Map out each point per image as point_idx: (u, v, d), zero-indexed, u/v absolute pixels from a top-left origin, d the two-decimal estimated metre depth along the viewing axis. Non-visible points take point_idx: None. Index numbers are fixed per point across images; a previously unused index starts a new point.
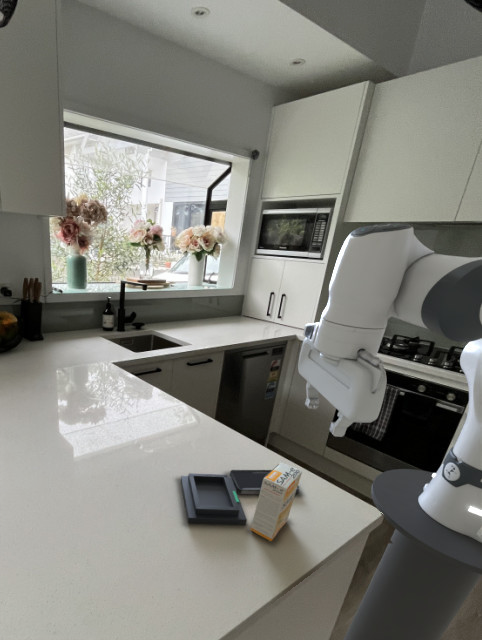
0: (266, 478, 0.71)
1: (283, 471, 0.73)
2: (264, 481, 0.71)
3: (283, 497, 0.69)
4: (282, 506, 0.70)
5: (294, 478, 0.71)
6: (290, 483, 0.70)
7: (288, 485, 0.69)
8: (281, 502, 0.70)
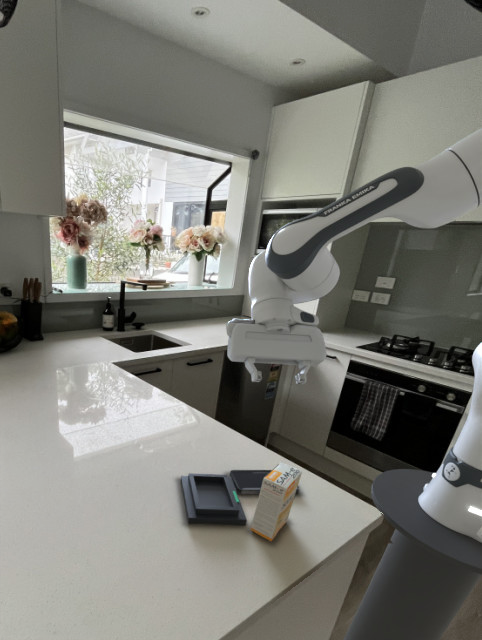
0: (266, 478, 0.71)
1: (283, 471, 0.73)
2: (264, 481, 0.71)
3: (283, 497, 0.69)
4: (282, 506, 0.70)
5: (294, 478, 0.71)
6: (290, 483, 0.70)
7: (288, 485, 0.69)
8: (281, 502, 0.70)
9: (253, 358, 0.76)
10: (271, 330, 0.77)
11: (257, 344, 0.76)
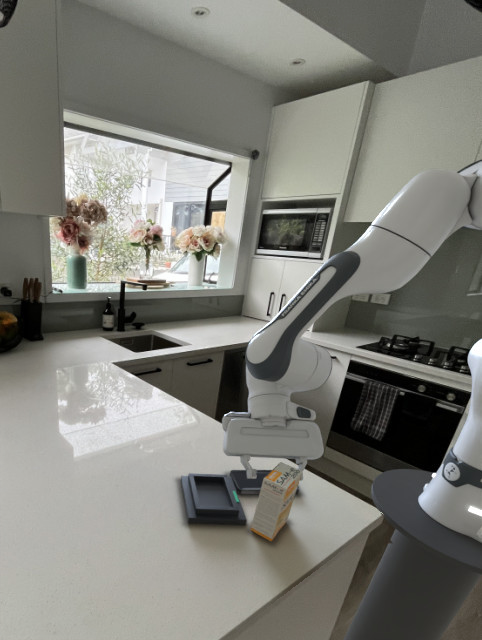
0: (266, 478, 0.71)
1: (283, 471, 0.73)
2: (264, 481, 0.71)
3: (283, 497, 0.69)
4: (282, 506, 0.70)
5: (294, 478, 0.71)
6: (290, 483, 0.70)
7: (288, 485, 0.69)
8: (281, 502, 0.70)
9: (248, 455, 0.76)
10: (267, 426, 0.77)
11: (252, 441, 0.76)
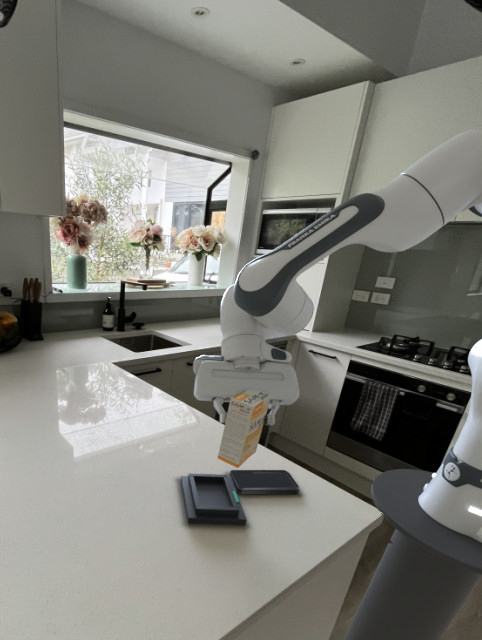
0: (233, 398, 0.67)
1: (251, 394, 0.70)
2: (231, 401, 0.67)
3: (250, 417, 0.66)
4: (249, 427, 0.67)
5: (262, 400, 0.68)
6: (258, 403, 0.67)
7: (255, 404, 0.66)
8: (248, 423, 0.66)
9: (221, 398, 0.72)
10: (240, 368, 0.73)
11: (224, 383, 0.72)
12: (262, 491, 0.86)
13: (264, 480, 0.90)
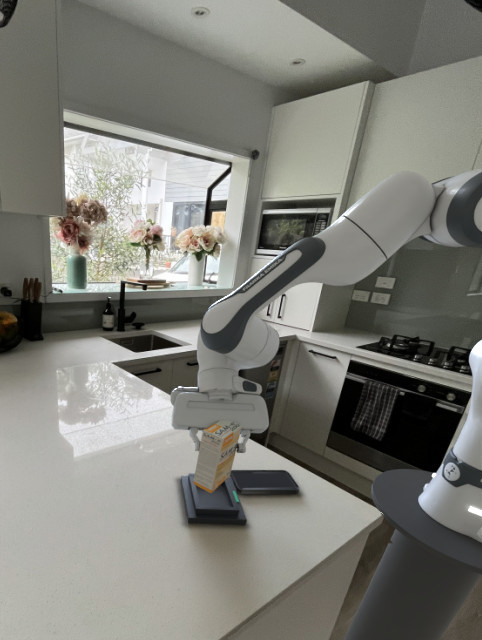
0: (205, 430, 0.73)
1: (223, 425, 0.75)
2: (203, 433, 0.73)
3: (220, 448, 0.71)
4: (220, 457, 0.72)
5: (233, 431, 0.74)
6: (228, 434, 0.72)
7: (225, 436, 0.71)
8: (219, 453, 0.72)
9: (196, 428, 0.77)
10: (213, 399, 0.78)
11: (199, 414, 0.78)
12: (262, 491, 0.86)
13: (264, 480, 0.90)
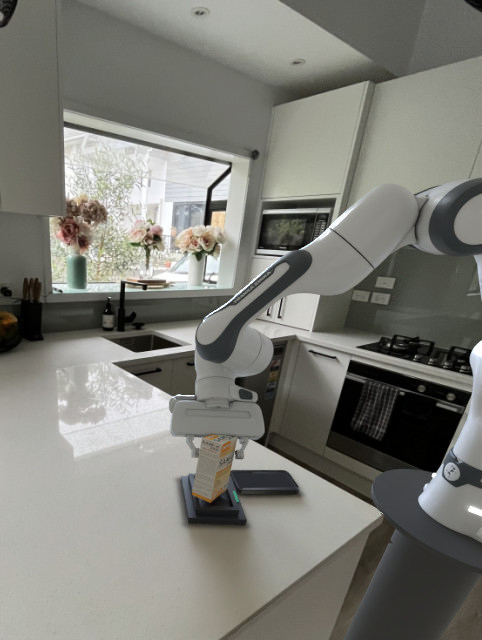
0: (204, 438, 0.76)
1: (220, 435, 0.79)
2: (202, 440, 0.76)
3: (219, 453, 0.74)
4: (219, 464, 0.75)
5: (230, 439, 0.77)
6: (226, 442, 0.76)
7: (223, 442, 0.75)
8: (218, 459, 0.75)
9: (192, 435, 0.80)
10: (210, 407, 0.81)
11: (196, 421, 0.80)
12: (262, 491, 0.86)
13: (264, 480, 0.90)
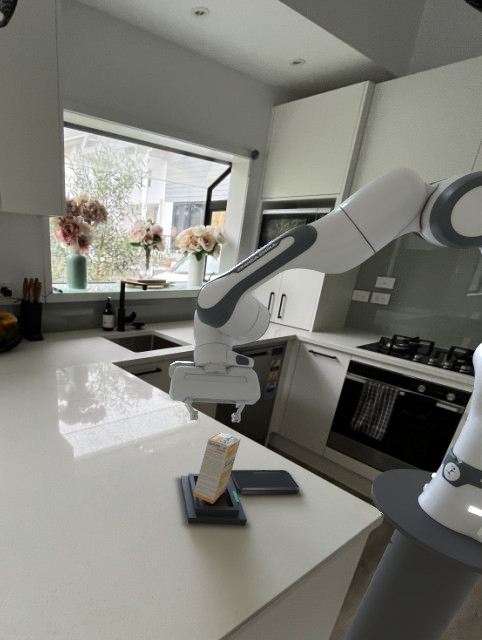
0: (210, 439, 0.76)
1: (224, 437, 0.80)
2: (209, 441, 0.76)
3: (225, 455, 0.75)
4: (224, 465, 0.76)
5: (234, 441, 0.78)
6: (231, 444, 0.76)
7: (230, 444, 0.75)
8: (223, 460, 0.75)
9: (191, 398, 0.83)
10: (208, 372, 0.84)
11: (195, 386, 0.83)
12: (262, 491, 0.86)
13: (264, 480, 0.90)
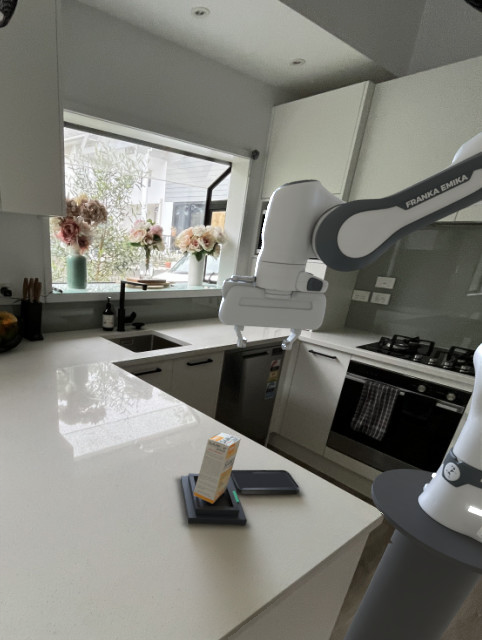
0: (210, 439, 0.76)
1: (224, 437, 0.80)
2: (209, 441, 0.76)
3: (225, 455, 0.75)
4: (224, 465, 0.76)
5: (234, 441, 0.78)
6: (231, 443, 0.76)
7: (230, 444, 0.75)
8: (223, 460, 0.75)
9: (242, 326, 0.74)
10: (269, 297, 0.71)
11: (250, 313, 0.73)
12: (262, 491, 0.86)
13: (264, 480, 0.90)
